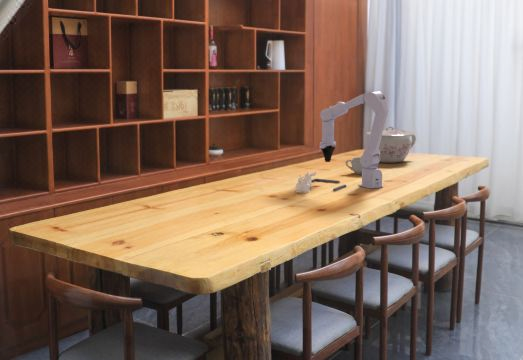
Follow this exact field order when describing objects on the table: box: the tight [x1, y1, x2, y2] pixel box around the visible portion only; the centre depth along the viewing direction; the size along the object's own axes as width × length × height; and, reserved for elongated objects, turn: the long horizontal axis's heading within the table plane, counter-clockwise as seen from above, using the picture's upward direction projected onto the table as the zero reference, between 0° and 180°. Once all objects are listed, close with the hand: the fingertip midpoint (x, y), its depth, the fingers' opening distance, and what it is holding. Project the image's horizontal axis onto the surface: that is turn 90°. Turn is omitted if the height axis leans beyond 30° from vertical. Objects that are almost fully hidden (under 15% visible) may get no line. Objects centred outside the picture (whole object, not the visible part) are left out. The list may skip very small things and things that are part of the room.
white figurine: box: [295, 171, 317, 194], centre depth 296 cm, size 12×8×10 cm, turn 137°
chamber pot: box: [365, 125, 417, 164], centre depth 385 cm, size 28×28×21 cm
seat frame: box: [311, 178, 347, 192], centre depth 311 cm, size 20×21×1 cm
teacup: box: [345, 156, 362, 176], centre depth 344 cm, size 14×11×8 cm
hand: (327, 161), depth 319 cm, fingers closed
